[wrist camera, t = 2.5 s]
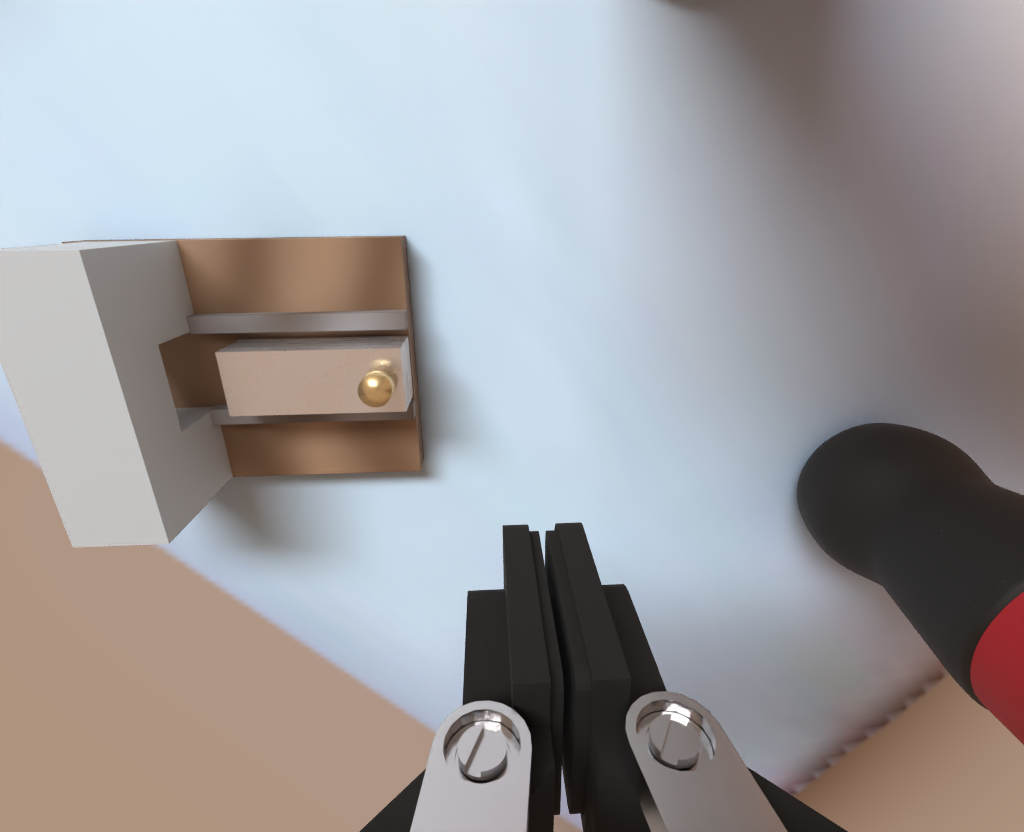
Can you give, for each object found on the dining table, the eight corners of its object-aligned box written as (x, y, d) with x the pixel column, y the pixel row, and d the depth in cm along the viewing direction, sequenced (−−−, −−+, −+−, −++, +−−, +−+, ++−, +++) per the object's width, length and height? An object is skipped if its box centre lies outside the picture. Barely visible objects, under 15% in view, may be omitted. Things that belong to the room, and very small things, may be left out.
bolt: (407, 335, 25) (394, 357, 21) (413, 394, 26) (401, 424, 23) (239, 339, 25) (197, 361, 21) (251, 398, 26) (213, 429, 22)
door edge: (176, 240, 23) (78, 249, 18) (232, 476, 28) (169, 543, 22) (84, 241, 23) (-44, 251, 18) (156, 479, 28) (72, 547, 22)
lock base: (405, 235, 25) (397, 237, 23) (423, 458, 29) (419, 477, 27) (85, 240, 24) (49, 242, 22) (153, 466, 29) (128, 486, 27)
